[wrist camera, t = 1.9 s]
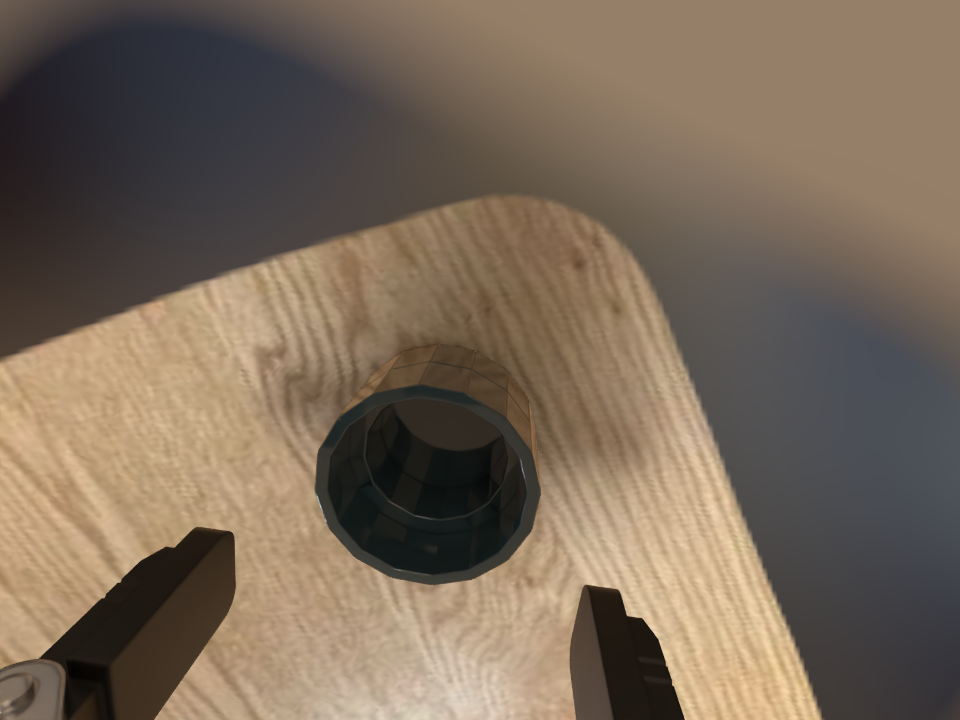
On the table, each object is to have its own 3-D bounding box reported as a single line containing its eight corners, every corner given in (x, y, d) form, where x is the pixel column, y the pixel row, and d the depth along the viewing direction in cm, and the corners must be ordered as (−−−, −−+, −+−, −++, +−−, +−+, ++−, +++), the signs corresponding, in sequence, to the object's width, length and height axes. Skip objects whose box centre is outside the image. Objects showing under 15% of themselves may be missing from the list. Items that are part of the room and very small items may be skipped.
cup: (336, 361, 19) (284, 410, 15) (513, 325, 18) (513, 365, 14) (385, 514, 21) (352, 597, 16) (548, 488, 20) (557, 568, 16)
